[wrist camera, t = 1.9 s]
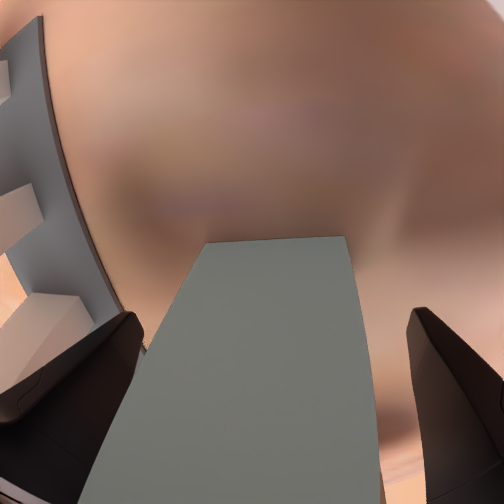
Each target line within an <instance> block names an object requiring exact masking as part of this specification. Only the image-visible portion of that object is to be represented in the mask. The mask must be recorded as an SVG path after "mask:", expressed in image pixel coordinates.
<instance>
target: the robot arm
mask: <svg viewBox="0 0 504 504" xmlns="http://www.w3.org/2000/svg"><path fill="white" fill-rule="evenodd" d="M406 335H407V343H408V351H409V360H410V369H411V379H412V385H413V391H414V396H415V401H416V407H417V413H418V419H419V426H420V432H421V440H422V448H423V457H424V468H425V481H426V498H427V499H426V502H427V504H504V381H503V379H502V378H501V376H500V375H499V374H498V373H497V372H496V371H495V370H494V369H493V368H492V367H491V366H490V365H489V364H488V363H487V362H486V361H485V360H484V359H483V358H482V357H480V356H479V355H478V354H477V353H476V352H475V351H474V350H473V349H472V348H471V347H470V346H469V345H468V344H467V343H466V342H465V341H464V340H463V339H462V338H460V337H459V336H458V335H457V334H456V333H455V332H454V331H453V330H452V329H451V328H450V327H449V326H447V325H446V324H445V323H444V322H443V321H442V320H441V319H440V318H438V317H437V316H436V315H435V314H434V313H433V312H432V311H431V310H429V309H428V308H427V307H417V308H414V309H413V310H412V312H411V315H410V319H409V322H408V326H407V331H406ZM143 337H144V330H143V327H142V325H141V324H140V322H139V320H138V318H137V316H136V314H135V313H134V312H132V311H122V312H121V313H119V314H118V315H116V316H115V317H113V318H112V319H110V320H109V321H107V322H106V323H104V324H103V325H101V326H100V327H99V328H97V329H96V330H94V331H93V332H91V333H90V334H88V335H87V336H85V337H84V338H83V339H81V340H80V341H78V342H77V343H75V344H74V345H72V346H71V347H70V348H68V349H67V350H65V351H64V352H62V353H61V354H60V355H58V356H57V357H55V358H54V359H52V360H51V361H50V362H48V363H47V364H45V366H42V367H41V368H40V369H38V370H37V371H35V372H34V373H33V374H31V375H30V376H28V377H27V378H25V379H24V380H22V381H20V382H19V383H17V384H16V385H14V386H12V387H11V388H9V389H7V390H6V391H4V392H3V393H1V394H0V504H78V501H79V498H80V496H81V493H82V491H83V488H84V486H85V484H86V481H87V479H88V476H89V474H90V471H91V469H92V467H93V464H94V462H95V460H96V457H97V455H98V453H99V451H100V448H101V446H102V444H103V442H104V439H105V437H106V435H107V433H108V430H109V428H110V426H111V424H112V422H113V420H114V417H115V415H116V413H117V411H118V409H119V407H120V405H121V403H122V400H123V398H124V396H125V394H126V392H127V390H128V388H129V386H130V384H131V382H132V379H133V376H134V373H135V369H136V365H137V361H138V357H139V353H140V349H141V345H142V341H143Z"/></svg>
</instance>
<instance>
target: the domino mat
mask: <svg viewBox="0 0 504 504" xmlns="http://www.w3.org/2000/svg"><path fill="white" fill-rule="evenodd" d="M4 60H8V71H9V81H10V89H11V96H10V97H9V98H8V99H7V100H6V101H5V102H3V103H2V104H1V105H0V196H2V195H4V194H6V193H9V192H11V191H13V190H15V189H18V188H20V187H22V186H25V185H27V184H29V183H31V184H32V187H33V190H34V193H35V196H36V199H37V202H38V205H39V207H40V210H41V213H42V216H43V218H44V222H42V223H41V224H40V225H38V226H37V227H36V228H34V229H33V230H32V231H30V232H29V233H28V234H26V235H25V236H24V237H23V238H21V239H20V240H19V241H18V242H16V243H15V244H14V245H13V246H12V247H10V248H9V249H8V250H7V251H6V252H5V253H6V255H7V258H8V260H9V262H10V264H11V266H12V268H13V270H14V272H15V274H16V276H17V278H18V280H19V281H20V283H21V285H22V287H23V289H24V291H25V292H26V294H27V296H29V295H30V294H31V293H32V292H33V293H44V294H56V295H69V296H79V297H80V299H81V301H82V302H83V304H84V306H85V308H86V310H87V311H88V313H89V315H90V317H91V318H92V320H93V322H94V323H95V324H94V325H93V327H92V328H91V330H90V331H89V333H88V334H90V333H91V332H93V331H94V330H96V329H97V328H99V327H100V326H101V325H103V324H104V323H106V322H107V321H109V320H110V319H112V318H113V317H115V316H116V315H118V314H119V313H121V312H122V311H123V309H122V307H121V305H120V303H119V301H118V299H117V297H116V295H115V293H114V291H113V289H112V287H111V284H110V282H109V280H108V278H107V276H106V274H105V271H104V269H103V267H102V265H101V262H100V260H99V258H98V255H97V253H96V250H95V248H94V246H93V243H92V241H91V238H90V236H89V233H88V230H87V228H86V225H85V222H84V220H83V217H82V214H81V211H80V209H79V206H78V203H77V200H76V197H75V194H74V191H73V188H72V184H71V181H70V178H69V175H68V171H67V168H66V164H65V161H64V157H63V153H62V149H61V146H60V141H59V137H58V133H57V129H56V124H55V120H54V115H53V110H52V104H51V99H50V93H49V87H48V80H47V73H46V64H45V55H44V43H43V27H42V16H37V17H36V18H34V19H33V20H32V21H31V22H30V23H28V24H27V25H26V26H25V27H24V28H23V29H22V30H20V31H19V32H18V33H17V34H16V35H15V36H14V37H13V38H12V39H11V40H10V41H9V42H8V43H7V44H6V45H5V46H4V47H3V48H2V49H1V50H0V61H4ZM88 334H87V335H88ZM87 335H86V336H87ZM145 354H146V351H145V349H144V348H143V346H142V345H141V349H140V353H139V357H138V361H137V365H136V369H135V373H134V376H135V374H136V372H137V370H138V368H139V366H140V364H141V362H142V360H143V358H144V356H145ZM134 376H133V378H134ZM132 380H133V379H132Z"/></svg>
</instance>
